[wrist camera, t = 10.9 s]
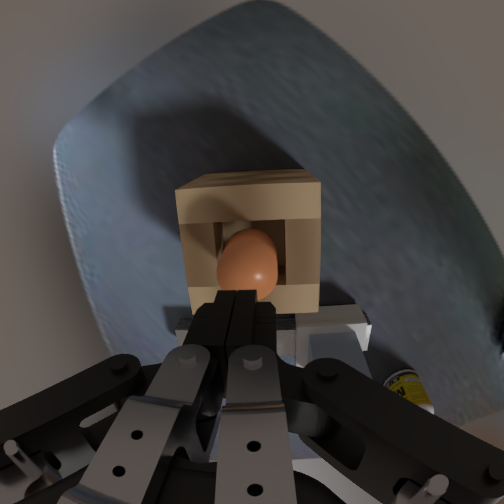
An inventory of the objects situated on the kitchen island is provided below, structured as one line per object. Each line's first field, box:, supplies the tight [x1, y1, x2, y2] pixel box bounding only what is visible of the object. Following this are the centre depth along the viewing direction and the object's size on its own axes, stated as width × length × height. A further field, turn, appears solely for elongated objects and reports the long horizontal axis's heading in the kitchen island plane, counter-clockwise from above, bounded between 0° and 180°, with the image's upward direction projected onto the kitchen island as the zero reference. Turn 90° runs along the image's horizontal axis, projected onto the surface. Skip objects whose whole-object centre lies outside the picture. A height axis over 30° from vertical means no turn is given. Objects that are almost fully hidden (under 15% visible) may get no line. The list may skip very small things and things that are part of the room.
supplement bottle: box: [383, 369, 434, 414], centre depth 27 cm, size 5×5×8 cm
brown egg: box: [216, 228, 278, 300], centre depth 16 cm, size 3×3×3 cm
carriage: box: [294, 304, 372, 379], centre depth 24 cm, size 6×6×9 cm
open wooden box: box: [175, 169, 321, 315], centre depth 21 cm, size 8×8×8 cm
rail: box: [175, 314, 371, 356], centre depth 28 cm, size 18×3×2 cm, turn 93°
